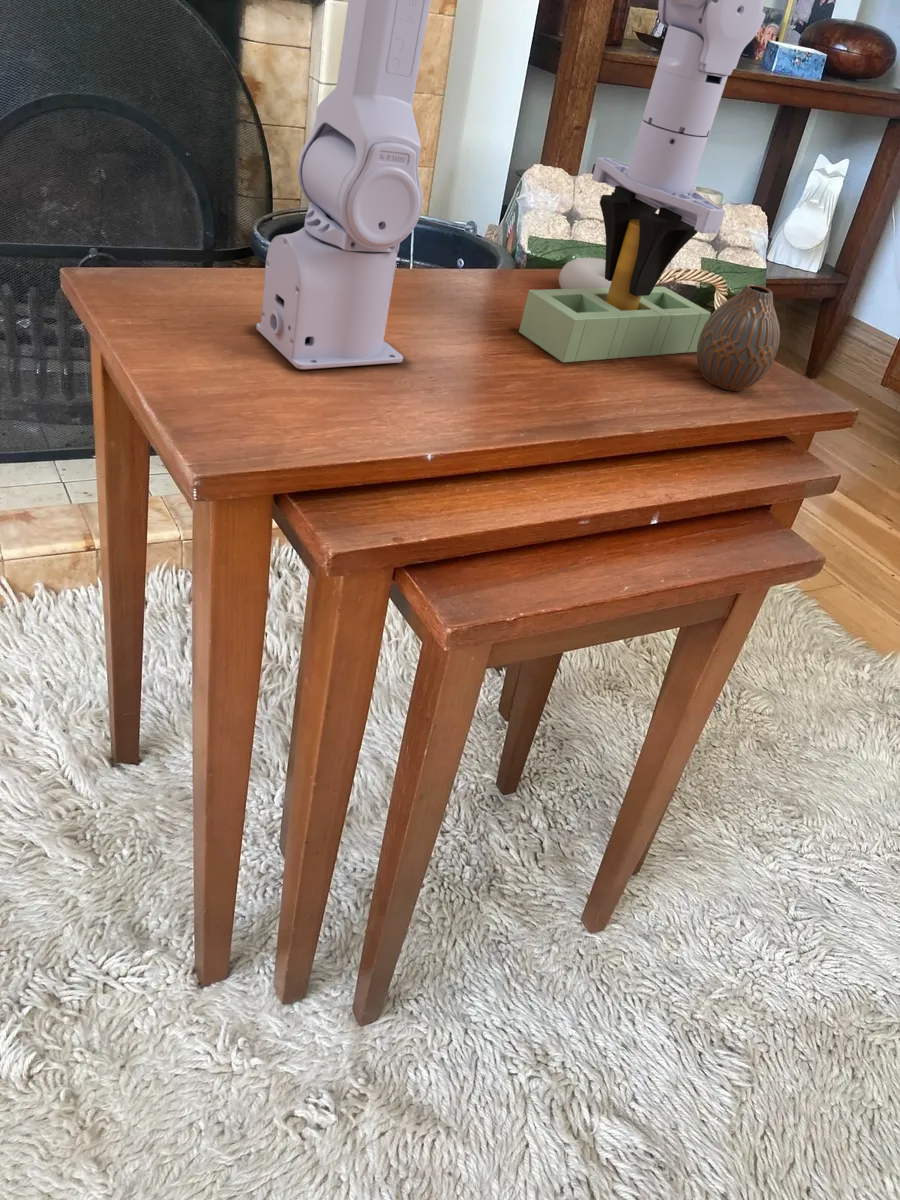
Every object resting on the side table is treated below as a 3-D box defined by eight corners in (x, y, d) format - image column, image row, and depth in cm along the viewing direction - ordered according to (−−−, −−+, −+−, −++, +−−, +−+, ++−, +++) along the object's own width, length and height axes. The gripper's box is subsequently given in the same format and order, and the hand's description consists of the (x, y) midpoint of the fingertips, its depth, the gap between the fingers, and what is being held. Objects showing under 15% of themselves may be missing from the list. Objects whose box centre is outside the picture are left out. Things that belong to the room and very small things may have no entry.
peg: (618, 319, 88) (644, 230, 84) (597, 306, 90) (622, 218, 86) (641, 317, 90) (669, 230, 85) (620, 305, 92) (646, 219, 87)
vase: (673, 365, 90) (705, 272, 85) (731, 366, 93) (765, 275, 88) (715, 398, 85) (752, 302, 80) (775, 398, 88) (814, 305, 83)
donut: (650, 329, 98) (644, 296, 106) (661, 296, 96) (654, 265, 104) (553, 307, 97) (555, 276, 105) (562, 274, 95) (563, 244, 103)
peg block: (562, 362, 85) (574, 319, 83) (518, 332, 89) (528, 289, 87) (697, 352, 94) (711, 312, 92) (651, 324, 99) (664, 286, 96)
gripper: (770, 155, 79) (712, 316, 86) (651, 108, 87) (608, 258, 95) (711, 150, 75) (656, 319, 83) (593, 102, 84) (554, 258, 92)
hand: (627, 287), depth 89 cm, fingers closed on peg, 3 cm apart
